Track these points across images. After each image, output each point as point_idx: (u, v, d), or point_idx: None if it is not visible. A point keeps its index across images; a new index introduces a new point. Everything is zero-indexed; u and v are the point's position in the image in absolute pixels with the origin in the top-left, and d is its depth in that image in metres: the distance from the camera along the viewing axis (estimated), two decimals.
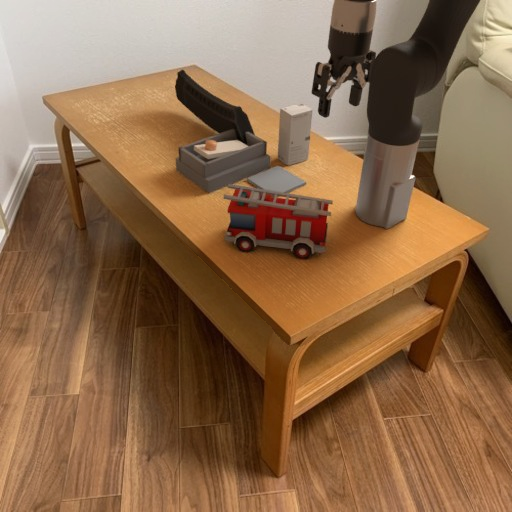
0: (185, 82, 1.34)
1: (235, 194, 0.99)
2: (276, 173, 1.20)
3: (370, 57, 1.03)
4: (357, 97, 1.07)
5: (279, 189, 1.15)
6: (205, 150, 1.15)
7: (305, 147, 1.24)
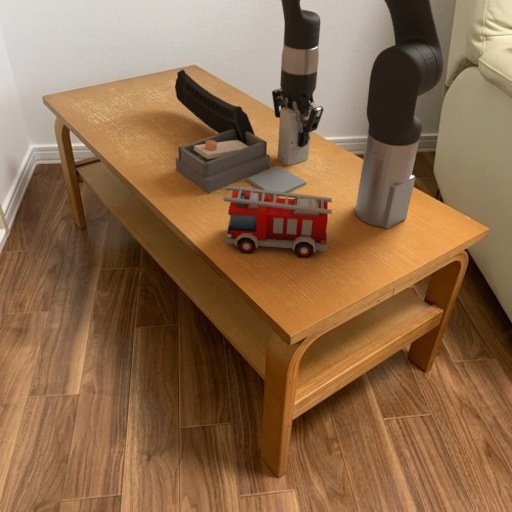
0: (185, 82, 1.34)
1: (234, 196, 0.99)
2: (276, 173, 1.20)
3: None
4: None
5: (279, 189, 1.15)
6: (205, 150, 1.15)
7: (305, 147, 1.24)
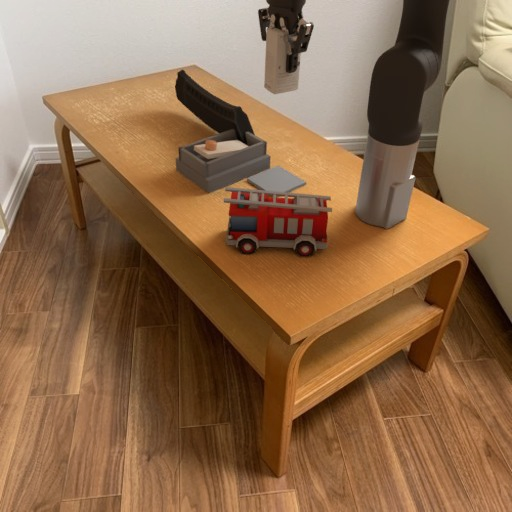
0: (185, 82, 1.34)
1: (233, 197, 0.98)
2: (276, 173, 1.20)
3: None
4: None
5: (279, 189, 1.15)
6: (205, 150, 1.15)
7: (294, 74, 1.12)
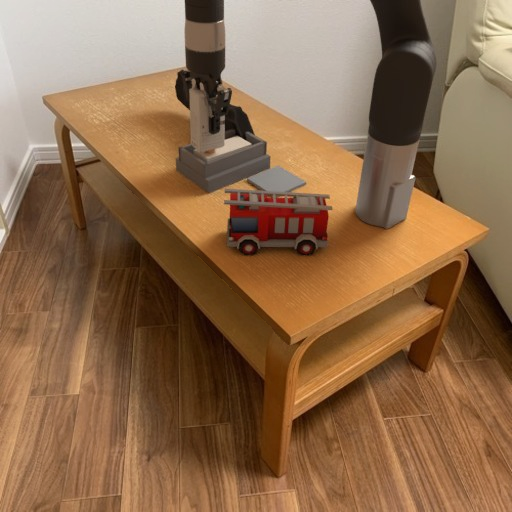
0: None
1: (232, 198, 0.98)
2: (276, 173, 1.20)
3: None
4: None
5: (279, 189, 1.15)
6: (205, 154, 1.16)
7: (219, 132, 1.13)
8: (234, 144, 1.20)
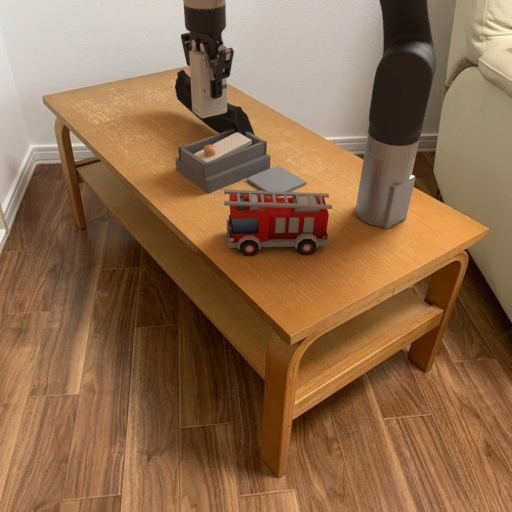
0: (185, 82, 1.34)
1: (231, 199, 0.98)
2: (276, 173, 1.20)
3: None
4: None
5: (279, 189, 1.15)
6: (205, 158, 1.16)
7: (222, 97, 1.09)
8: (234, 142, 1.20)
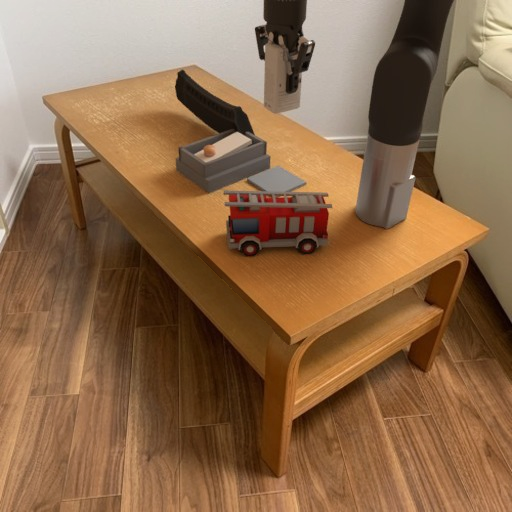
0: (185, 82, 1.34)
1: (231, 200, 0.98)
2: (276, 173, 1.20)
3: None
4: None
5: (279, 189, 1.15)
6: (205, 158, 1.16)
7: (296, 92, 1.05)
8: (234, 142, 1.20)
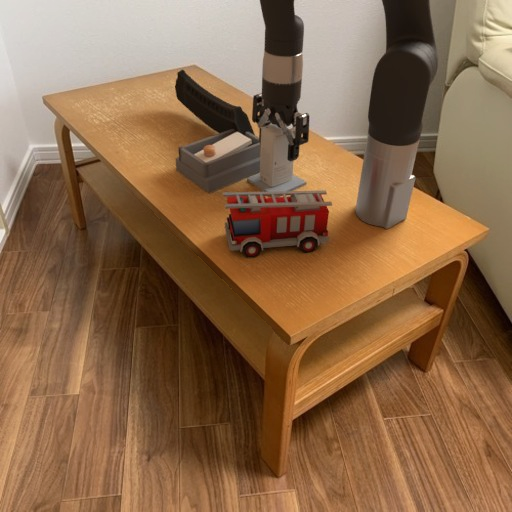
0: (185, 82, 1.34)
1: (231, 202, 0.97)
2: None
3: None
4: None
5: (279, 189, 1.15)
6: (205, 158, 1.16)
7: (289, 167, 1.16)
8: (234, 142, 1.20)
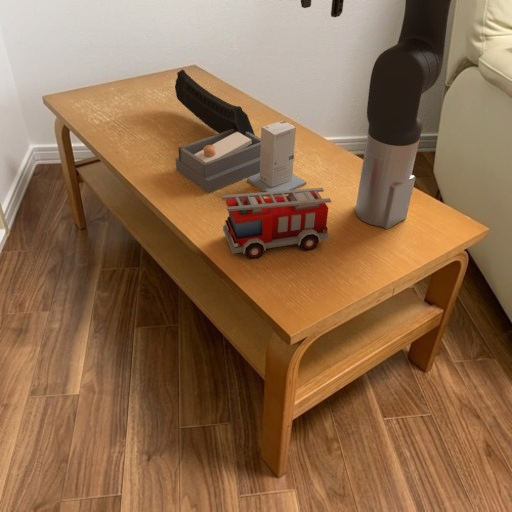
0: (185, 82, 1.34)
1: (230, 204, 0.97)
2: None
3: None
4: None
5: (279, 189, 1.15)
6: (205, 158, 1.16)
7: (289, 167, 1.16)
8: (234, 142, 1.20)
